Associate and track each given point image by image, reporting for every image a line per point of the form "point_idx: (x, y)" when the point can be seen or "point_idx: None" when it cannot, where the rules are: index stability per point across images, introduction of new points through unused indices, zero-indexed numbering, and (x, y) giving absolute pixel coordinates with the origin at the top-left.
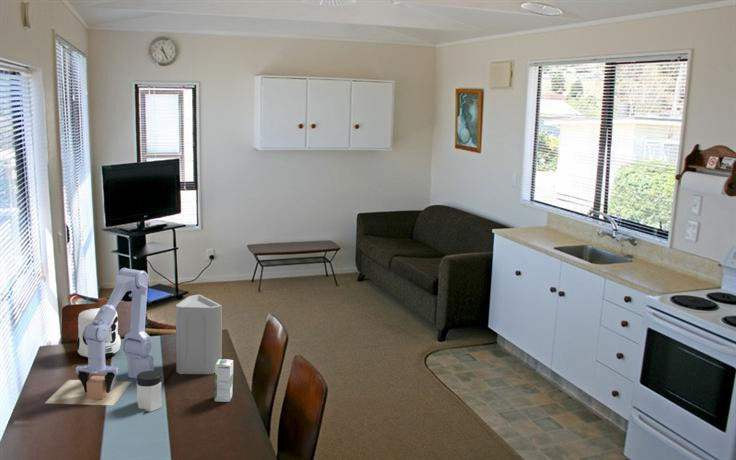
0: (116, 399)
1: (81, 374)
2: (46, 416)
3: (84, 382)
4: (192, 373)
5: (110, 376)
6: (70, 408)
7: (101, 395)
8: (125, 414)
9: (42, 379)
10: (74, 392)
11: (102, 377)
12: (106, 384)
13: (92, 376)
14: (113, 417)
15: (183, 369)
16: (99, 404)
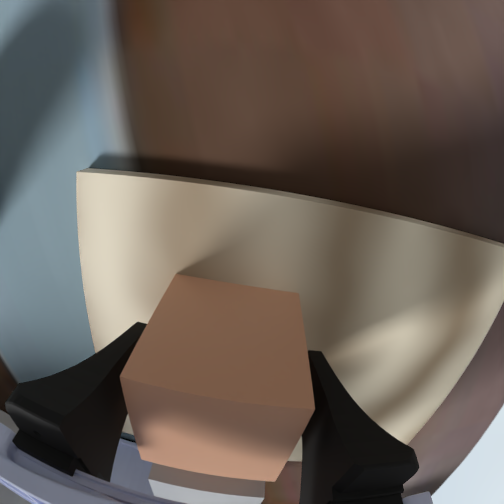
0: (88, 263)
1: (376, 488)
2: (501, 100)
3: (337, 413)
4: (3, 412)
5: (8, 404)
6: (398, 185)
7: (177, 293)
8: (18, 87)
9: (461, 443)
10: (383, 377)
11: (176, 456)
12: (109, 367)
13: (272, 475)
14: (67, 37)
15: (15, 431)
16: (175, 186)
